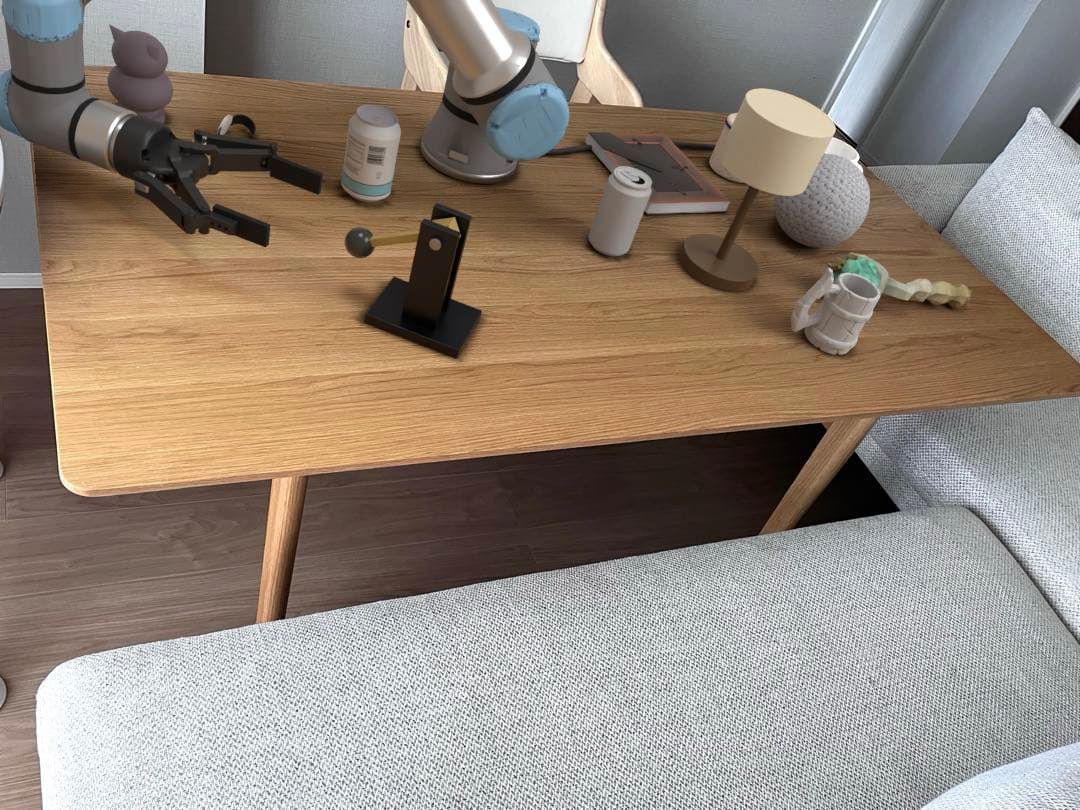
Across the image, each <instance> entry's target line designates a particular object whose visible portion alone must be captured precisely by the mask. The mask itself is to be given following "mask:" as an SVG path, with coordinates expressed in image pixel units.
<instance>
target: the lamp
mask: <svg viewBox="0 0 1080 810" xmlns="http://www.w3.org/2000/svg"><path fill="white" fill-rule="evenodd" d="M737 113H738V114H737V116H736V118H735V120H734V123H733V125H732V127H731V129H730V132H729V134H728V136H727V139H726V141H725V143H724V145H723V148H722V150H721V152H720V160H721V162H722V164H723V165H724V167H725V168H726V169H727V170H728V171H729V172H730V173H731V174H732V175H734V176H735V177H736V178H738V179H739V180H741V181H742V182H744V183H743V184H746V185H748V187H747V189H746V192H745V193H744V196H743V198H742V200H741V201H740V204H739V206H738V208H737V210H736V213H735V215H734V217H733V219H732V220H731V223H730V225H729V227H728V229H727V231H726V234H725V235H724V237H722V236H720V235H719V236H718V235H716V234H710V233H695V234H692V235H690V236H688V237H686V239H685V240H684V241H683V244H682V247H681V249H680V251H679V262H680V264H681V265H682V267H683V268H684V270H685V271H686V272H687V273H688V274H689V275H691V276H692V277H693V278H694V279H696V280H698V281H699V282H701V283H702V284H704V285H706V286H708V287H711V288H713V289H717V290H720V291H725V292H732V293H733V292H742V291H746V290H747V289H749V288H750V287H751V286H752V285H753V283H754V281H755V279H756V277H757V276H758V273H759V266H758V263H757V261H756V259H755V258H754V257H753V255H751V253H750V252H748V251H747V250H746V249H745V248H744V247H743V246H741V245H739V244H738V243H736V240H737V237H738V235H739V234H740V231H741V229H742V227H743V225H744V223H745V221H746V219H747V217H748V215H749V213H750V211H751V208H752V206H753V204H754V203H755V200H756V198H757V196H758V194H759V192H760V191H763V192H765V193H768V194H772V195H775V194H776V195H782V196H794V195H799V194H801V193H802V192H804V190H805V189H806V187H807V185H808V183H809V181H810V179H811V177H812V175H813V174H814V172H815V170H816V168H817V166H818V164H819V162H820V160H821V158H822V156H823V154H824V153H825V151H826V149H827V147H828V145H829V143H830V141H831V139H832V137H833V138H834V135H835V133H836V131H837V129H836V125H835V123H834V121H833V120H832V119H831V118H830V117H829V115H828V114H826V113H825V112H824V111H823V110H822V109H820V108H819V107H817V106H816V105H814V104H812V103H810V102H808V101H807V100H805V99H803V98H801V97H798V96H796V95H793V94H790V93H787V92H784V91H781V90H776V89H772V88H762V87H761V88H759V87H758V88H753V89H750V90H748V91H747V92H746V94H745V96H744V98H743V100H742V102H741V105H740V106H739V109H738V111H737Z"/></svg>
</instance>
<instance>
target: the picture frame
mask: <svg viewBox="0 0 1080 810" xmlns="http://www.w3.org/2000/svg"><path fill="white" fill-rule="evenodd" d="M673 142H674V141H672V140H671V139H670V138H669V137H668V136H667V135H666V134H665V133H624V132H623V133H622V132H621V133H620V132H619V133H617V132H616V133H615V132H608V131H588V133H587V135H586V139H585V141H584V143H585V145H590V144H591V145H592V150H591V151H592V152H593V154H594V155H595V156H596V157H597V158H598V159H599V161H600V162H601V163H602V164H603V165H604V167H605V168H606V169H607V170H608V171H609V172H610V174H612V173H614V170H615V169H616V168H617V167H620V166H628V167H633V168H636V169H638V170H640V171H642V172H644V173H646V174H647V175H648V176H649V177H650V178H651V180H652V185H651V190H652V192H651V195H650V197H649V200H648V202H647V205H646V207H645V210H644V214H646V215H666V214H667V215H670V214H671V215H673V214H698V213H699V214H701V213H702V214H704V213H707V214H708V213H724V212H726V211H727V209H728V207H729V205H730V203H731V200H729V199H728V198H727V197H726V195H724V193H723V192H722V191H720V189H718V187H717V186H716V185H715V184H714V183H713V182H712V181H711V180H710V179H709V178H708V177H707V176H706V175H705V174H704V173H703V172H702V171H701V169H699V168H698V166H696V165H695V163H694V162H692V161H691V160H690V158H688V156H687V155H686V154H685V153H683V151H682V150H681V149H680V147H677V146H676V145H675V144H674V143H673Z"/></svg>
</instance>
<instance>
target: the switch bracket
mask: <svg viewBox="0 0 1080 810" xmlns="http://www.w3.org/2000/svg"><path fill="white" fill-rule="evenodd" d="M452 217H455V219H456V222H457V225H458V228H459V231H460V232H458V231H456V230H453V229H451V228H448V227H446V226H443V225H440V224H438V223H435V222H433V220H437V219H445V218H452ZM472 218H473V216H472V215H470V214H467V213H465V212H462V211H460V210H458V209H454V208H453V207H449V206H447V205H444V204H441V203H439V202H435V204H434V205H433V207H432V211H431V216H430V219H427V218H423V219H422V220H421V222H420V226H419V229H420V230H419V229H418V230H419V235H418V240H417V242H416V245H415V250H414V255H413V259H412V264H411V269H410V274H409V278H408V280H404V279H402V278H399V277H397V276H393V277H392V278H391V279H390V280H389V282H388V283H387V284H386V286H385V287H384V288H383V290H382V292H380V294H379V295H378V297H377V298H376V299H375V300H374V301H373V303H372V304H371V306H370V307H369V308H368V310H367V311H366V312H365V315H364V319H363V323H365V324H368V325H370V326H373V327H376V328H378V329H381V330H383V331H386V332H389V333H391V334H394V335H396V336H399V337H401V338H403V339H406V340H408V341H411V342H414V343H416V344H419V345H422V346H425V347H426V348H429V349H432V350H434V351H437V352H440V353H442V354H445V355H448V356H449V357H452V358H455V359H458V358H459V356H460V354H461V353H462V351H463V349H464V347H465V345H466V344H467V342H468V340H469V338H470V337H471V335H472V334H473V332H474V330H475V328H476V326H477V324H478V323H479V321H480V319H481V317H482V313H483V310H481V309H479V308H476V307H474V306H471V305H468V304H466V303H464V302H461V301H458V300H455V299H453V298H452V297H453V294H454V289H455V285H456V281H457V279H458V273H459V269H460V265H461V261H462V258H463V254H464V249H465V246H466V241H467V238H468V233H469V230H470V226H471V221H472ZM460 234H461V237H460Z"/></svg>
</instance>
